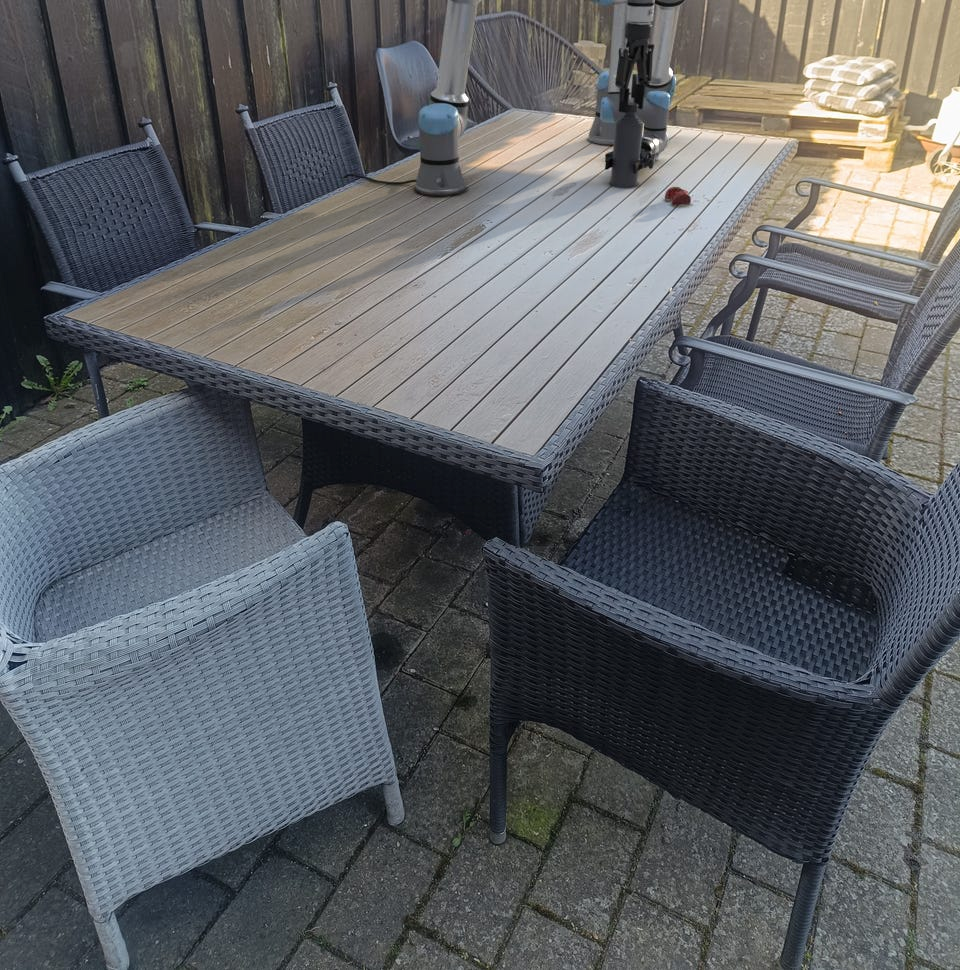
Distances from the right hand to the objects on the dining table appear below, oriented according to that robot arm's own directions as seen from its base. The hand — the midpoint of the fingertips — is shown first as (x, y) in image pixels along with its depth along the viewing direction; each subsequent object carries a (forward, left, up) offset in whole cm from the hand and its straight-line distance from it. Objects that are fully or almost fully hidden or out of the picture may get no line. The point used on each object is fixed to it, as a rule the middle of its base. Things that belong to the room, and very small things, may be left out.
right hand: (620, 167), depth 257 cm
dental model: (+14, +16, -6) cm, 22 cm away
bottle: (-4, +2, -6) cm, 8 cm away
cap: (-4, +2, +17) cm, 17 cm away
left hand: (-4, +2, +15) cm, 16 cm away
